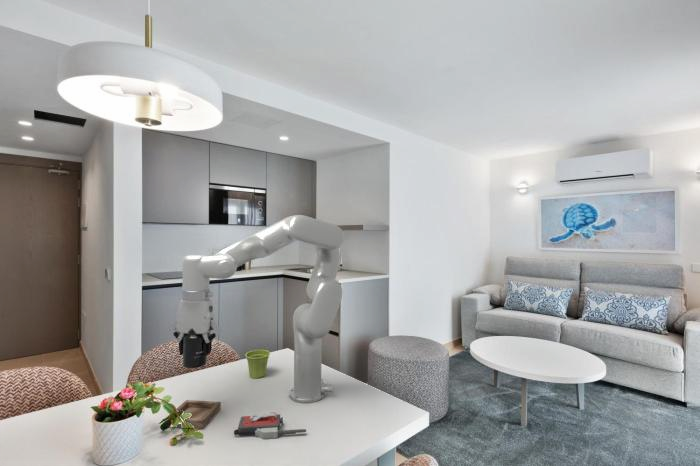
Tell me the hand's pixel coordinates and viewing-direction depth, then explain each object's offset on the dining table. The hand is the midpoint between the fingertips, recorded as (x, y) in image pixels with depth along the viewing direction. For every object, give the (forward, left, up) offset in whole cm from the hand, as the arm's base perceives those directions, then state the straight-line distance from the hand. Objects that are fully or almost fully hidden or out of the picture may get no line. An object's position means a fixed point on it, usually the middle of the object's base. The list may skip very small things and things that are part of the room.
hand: (195, 353), depth 107 cm
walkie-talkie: (-25, +4, -20) cm, 32 cm away
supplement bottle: (0, 0, -4) cm, 4 cm away
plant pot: (-8, -33, -20) cm, 39 cm away
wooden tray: (0, 0, -20) cm, 20 cm away
